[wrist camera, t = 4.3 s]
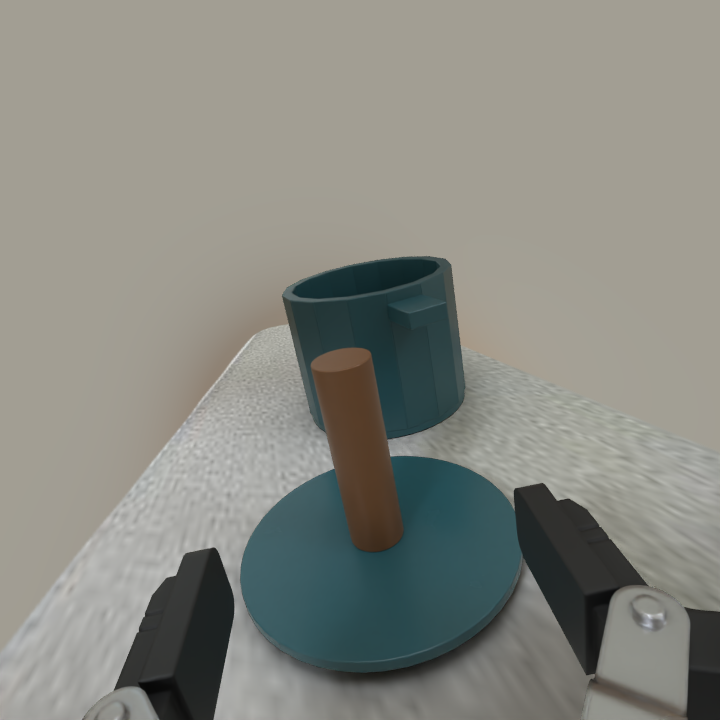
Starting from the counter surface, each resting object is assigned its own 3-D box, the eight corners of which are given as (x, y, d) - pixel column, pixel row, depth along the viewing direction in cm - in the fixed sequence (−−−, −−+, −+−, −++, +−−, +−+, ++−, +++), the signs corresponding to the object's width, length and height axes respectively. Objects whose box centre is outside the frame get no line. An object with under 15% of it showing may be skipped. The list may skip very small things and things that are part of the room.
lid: (284, 758, 15) (189, 502, 12) (228, 528, 26) (171, 362, 23) (594, 585, 19) (590, 352, 15) (430, 447, 30) (407, 294, 26)
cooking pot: (360, 482, 28) (326, 323, 24) (287, 388, 43) (260, 281, 39) (524, 416, 31) (513, 269, 28) (403, 350, 46) (387, 249, 43)
